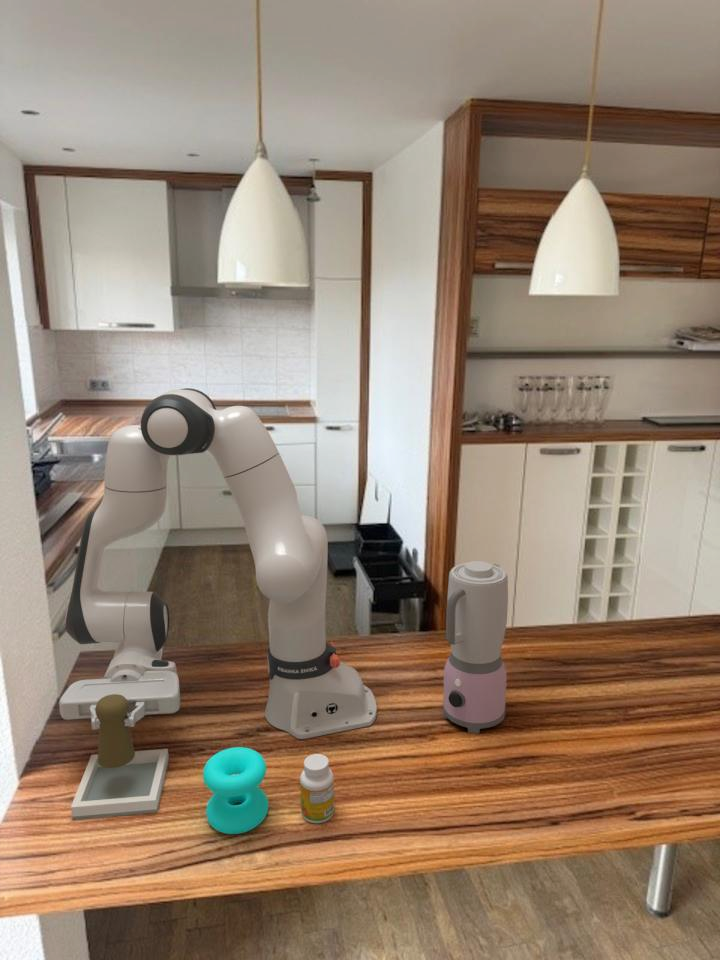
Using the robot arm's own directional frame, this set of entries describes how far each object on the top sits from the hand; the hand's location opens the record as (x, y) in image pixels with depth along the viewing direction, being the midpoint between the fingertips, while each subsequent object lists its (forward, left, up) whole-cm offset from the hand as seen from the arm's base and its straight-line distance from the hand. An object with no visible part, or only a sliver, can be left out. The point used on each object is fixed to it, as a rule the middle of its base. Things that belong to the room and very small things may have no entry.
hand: (112, 724), depth 119 cm
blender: (-64, -13, -13) cm, 67 cm away
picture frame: (0, -1, -13) cm, 13 cm away
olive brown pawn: (0, -1, -7) cm, 7 cm away
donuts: (-20, +8, -13) cm, 26 cm away
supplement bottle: (-33, +9, -13) cm, 37 cm away
